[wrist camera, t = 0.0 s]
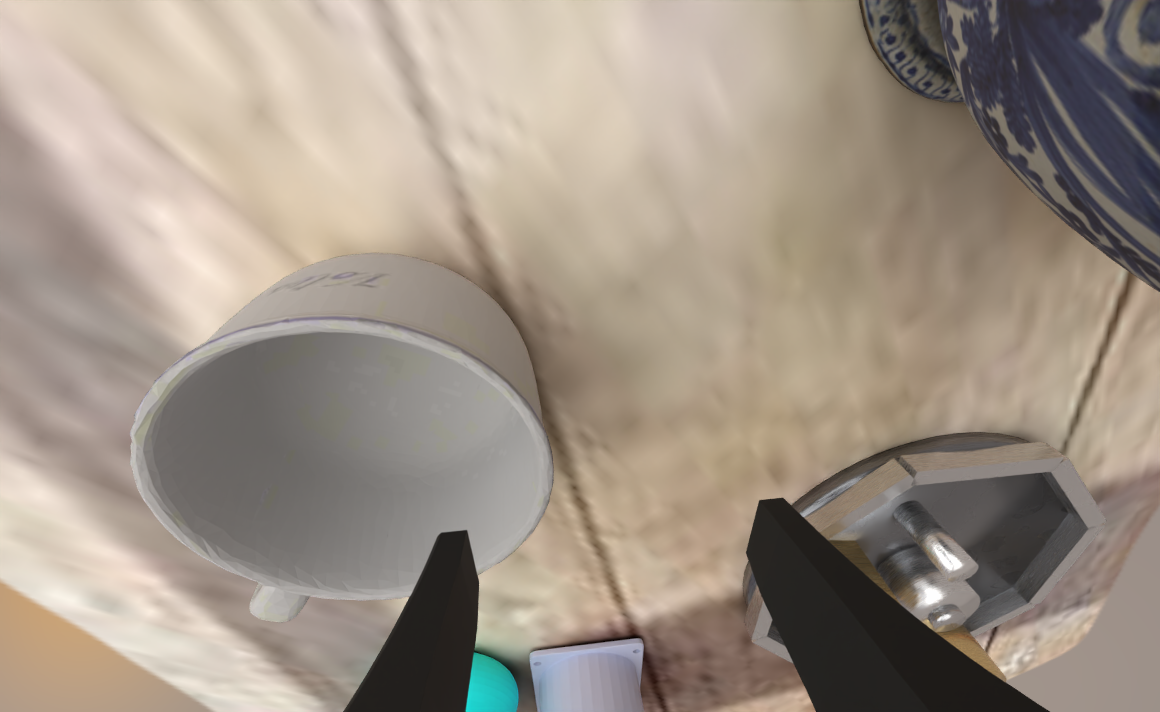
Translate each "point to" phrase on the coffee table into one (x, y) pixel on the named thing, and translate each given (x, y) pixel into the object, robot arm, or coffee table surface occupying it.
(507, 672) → the donuts
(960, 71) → the decorative vase
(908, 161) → the coffee table surface
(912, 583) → the tray
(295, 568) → the teacup
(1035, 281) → the coffee table surface
